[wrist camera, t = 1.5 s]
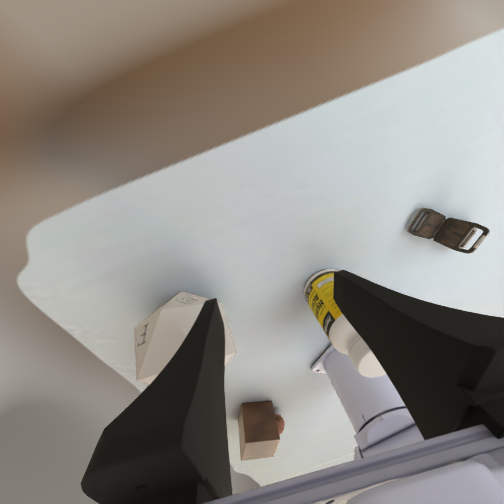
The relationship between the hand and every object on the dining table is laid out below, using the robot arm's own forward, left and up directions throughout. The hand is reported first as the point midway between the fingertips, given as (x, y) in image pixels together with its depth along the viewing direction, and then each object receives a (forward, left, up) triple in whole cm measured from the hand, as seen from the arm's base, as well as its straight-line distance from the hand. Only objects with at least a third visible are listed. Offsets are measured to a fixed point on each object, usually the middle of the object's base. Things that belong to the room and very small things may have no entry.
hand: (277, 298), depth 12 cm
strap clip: (-19, -10, -9) cm, 23 cm away
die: (+2, +11, -9) cm, 14 cm away
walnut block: (-15, +27, -9) cm, 32 cm away
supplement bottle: (-11, +2, -9) cm, 14 cm away
